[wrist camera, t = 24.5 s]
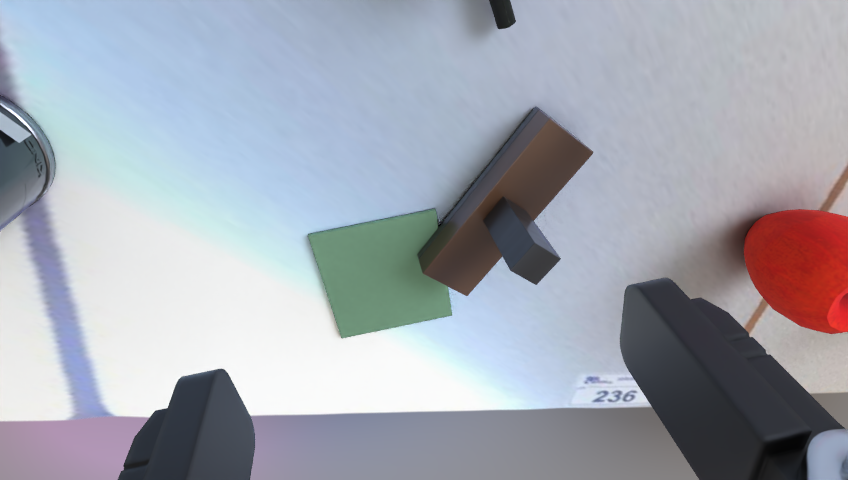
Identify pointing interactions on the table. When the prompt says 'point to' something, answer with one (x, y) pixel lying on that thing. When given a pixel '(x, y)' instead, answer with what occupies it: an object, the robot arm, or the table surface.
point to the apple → (802, 266)
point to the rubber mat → (379, 273)
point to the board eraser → (506, 209)
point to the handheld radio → (503, 13)
